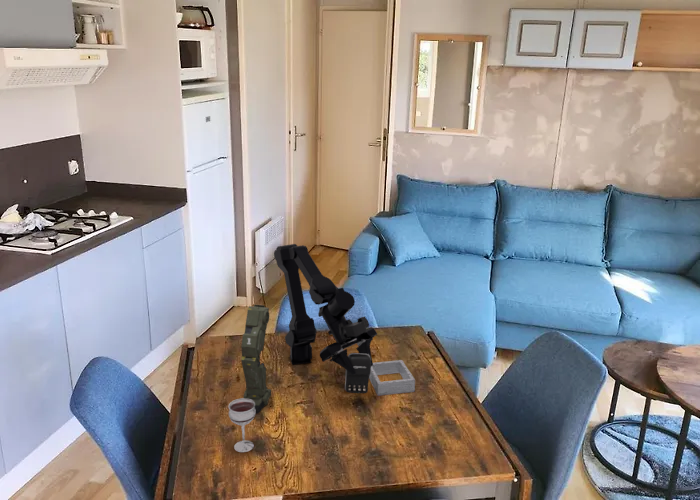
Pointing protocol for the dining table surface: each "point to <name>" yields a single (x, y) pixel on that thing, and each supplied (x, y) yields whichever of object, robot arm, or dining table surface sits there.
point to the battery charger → (358, 373)
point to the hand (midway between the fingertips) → (363, 370)
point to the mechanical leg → (255, 356)
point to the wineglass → (242, 419)
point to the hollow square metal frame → (396, 385)
